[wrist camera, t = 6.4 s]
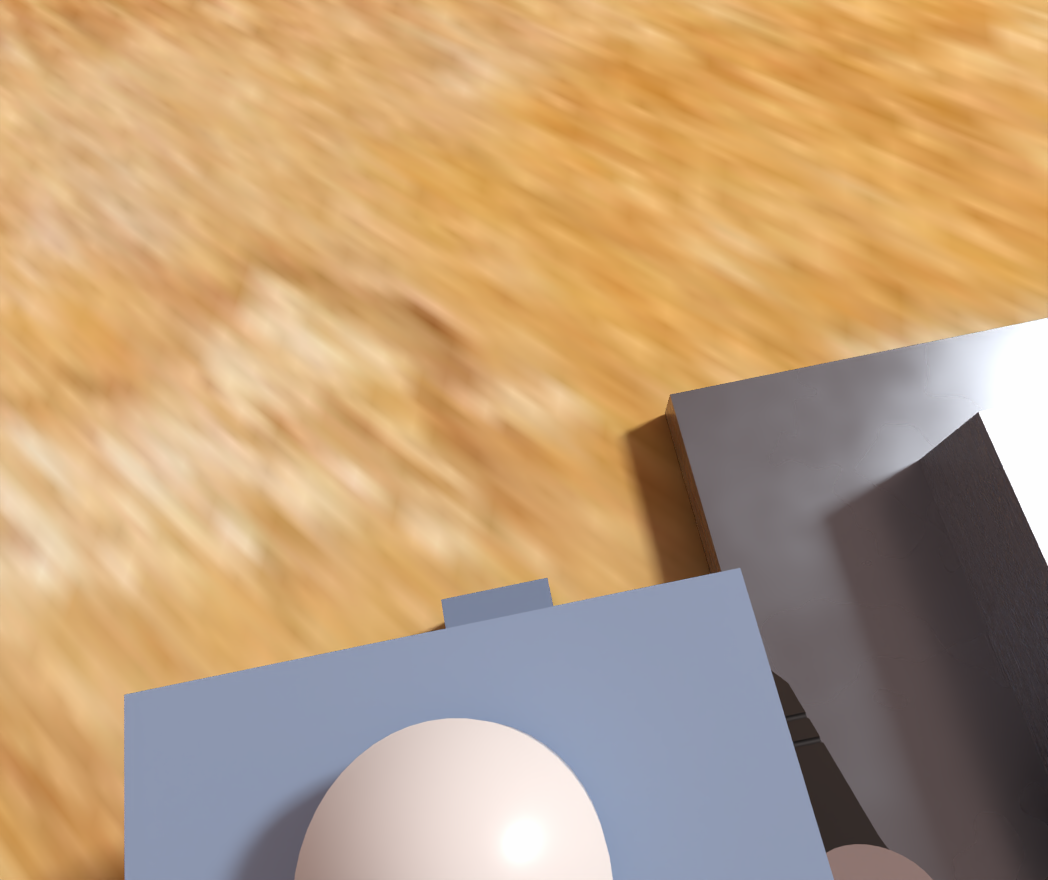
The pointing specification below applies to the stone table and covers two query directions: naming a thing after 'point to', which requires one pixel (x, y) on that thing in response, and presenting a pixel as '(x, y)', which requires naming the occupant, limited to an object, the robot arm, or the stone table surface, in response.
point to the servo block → (486, 752)
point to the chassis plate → (900, 576)
